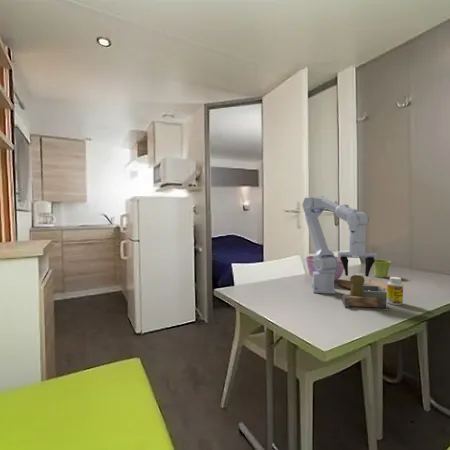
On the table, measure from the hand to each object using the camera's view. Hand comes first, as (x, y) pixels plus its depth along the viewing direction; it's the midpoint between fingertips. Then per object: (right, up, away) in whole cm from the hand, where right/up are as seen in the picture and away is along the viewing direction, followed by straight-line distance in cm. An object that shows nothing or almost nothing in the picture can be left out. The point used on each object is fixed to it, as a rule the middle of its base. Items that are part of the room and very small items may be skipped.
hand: (356, 275), depth 125 cm
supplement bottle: (+14, -11, -2) cm, 18 cm away
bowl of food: (-1, -9, +37) cm, 37 cm away
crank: (0, -10, -7) cm, 12 cm away
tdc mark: (-3, -10, +5) cm, 12 cm away
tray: (+10, -10, +10) cm, 17 cm away
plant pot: (+33, -8, +46) cm, 57 cm away
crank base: (+6, -11, -8) cm, 15 cm away
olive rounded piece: (-1, -11, -2) cm, 11 cm away
